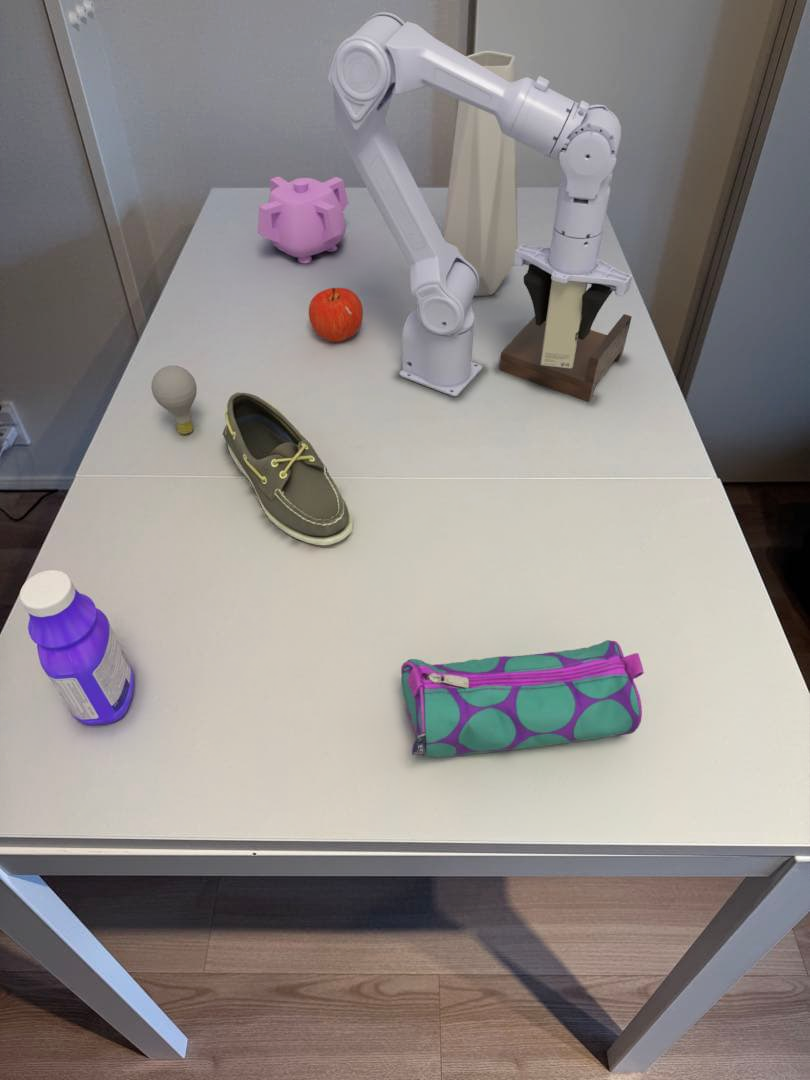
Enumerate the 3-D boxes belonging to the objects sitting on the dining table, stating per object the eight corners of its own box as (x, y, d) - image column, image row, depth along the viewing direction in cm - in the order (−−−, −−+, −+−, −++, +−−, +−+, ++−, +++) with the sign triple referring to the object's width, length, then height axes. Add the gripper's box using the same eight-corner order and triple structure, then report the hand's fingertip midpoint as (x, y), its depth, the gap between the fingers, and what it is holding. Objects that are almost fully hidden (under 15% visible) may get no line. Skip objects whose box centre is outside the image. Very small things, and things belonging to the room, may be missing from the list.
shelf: (498, 370, 111) (503, 327, 106) (535, 329, 118) (540, 288, 112) (589, 402, 106) (598, 359, 101) (621, 358, 113) (631, 316, 107)
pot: (317, 214, 143) (311, 149, 134) (378, 248, 135) (376, 180, 126) (236, 247, 135) (224, 180, 126) (296, 285, 127) (288, 216, 118)
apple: (374, 337, 117) (372, 289, 111) (330, 356, 113) (325, 308, 107) (344, 314, 121) (341, 267, 115) (301, 332, 118) (295, 284, 112)
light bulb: (215, 425, 103) (200, 363, 96) (191, 450, 100) (173, 387, 92) (182, 414, 105) (164, 352, 97) (157, 438, 101) (137, 376, 94)
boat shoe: (366, 538, 90) (363, 493, 84) (290, 567, 87) (281, 523, 81) (288, 418, 104) (281, 373, 98) (220, 440, 101) (209, 395, 96)
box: (572, 370, 101) (589, 280, 91) (539, 366, 102) (551, 277, 92) (575, 347, 104) (591, 258, 95) (543, 343, 105) (555, 255, 95)
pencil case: (412, 779, 70) (412, 729, 63) (400, 694, 76) (399, 639, 69) (633, 752, 72) (658, 700, 64) (605, 671, 77) (625, 615, 70)
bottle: (85, 668, 78) (19, 557, 65) (141, 663, 78) (87, 553, 65) (70, 733, 73) (-4, 628, 60) (130, 728, 74) (70, 622, 61)
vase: (525, 278, 128) (553, 53, 103) (492, 311, 121) (513, 78, 97) (462, 259, 132) (473, 38, 107) (426, 289, 126) (430, 62, 101)
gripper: (506, 225, 90) (497, 326, 100) (623, 258, 85) (601, 361, 95) (533, 202, 94) (522, 301, 104) (647, 231, 88) (623, 333, 99)
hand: (561, 328), depth 100 cm, fingers closed on box, 5 cm apart
